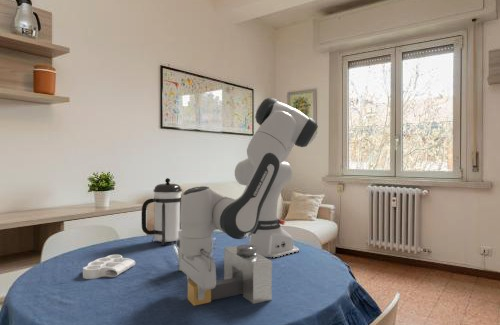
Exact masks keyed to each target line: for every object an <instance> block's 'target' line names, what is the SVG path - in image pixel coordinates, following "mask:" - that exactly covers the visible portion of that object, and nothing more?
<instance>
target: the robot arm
mask: <svg viewBox="0 0 500 325" xmlns="http://www.w3.org/2000/svg"><path fill="white" fill-rule="evenodd" d="M254 119H255V122H256V123H257V124H258V125H259V127H258V129H257V130H256V132H255V133H254V134H253V136H252V137H251V139H250V141H249V143H248V145H247V148H246V155H247V158H245V159H244V160H241V161H238V163H237V164H236V165H235V169H234V177H235V181H236V182H237V183H238V184H239V185H240V186H241V185H243V186H245V188H244V190H243V192H242V194H241V195H240V196H239V197H238V198H236V199H234V198H231V197H228V196H224V195H223V194H220V193H217V192H216V191H214V190H213V189H211V188H210V187H209V186H206V185H205V186H204V185H202V186H194V187H191V188H188V189H186V190H185V191H184V192H182V193H183V194H182V195H181V211H180V221H181V229H182V230H181V233H180V239H177V240H176V244H175V245H176V247H177V248H178V249H177V254H178V255H177V256H178V257H177V258H178V260H179V267H180V270H182V271H181V272H183V273H184V274H185V275H186V279H187V282H188V281H194V282H195V283H196V284H197V285H198V292H197V299H198V300H204V298H205V291H206V290H209V289H213V288H215V286H216V281H217V270H216V269H217V268H216V261H215V260H214V258H212V257H211V253H212V252H213V232H214V231H216V230H219V231H220V232H223V233H224V234H226V236H229V237H230V238H232V239H233V240H243V239H247V238H248V237H249V240H248V244H247V245H253V246H256V247H257V254H259V255H261V256H263V257H265V258H272V257H273V258H272V259H274V258H275V257H277V258H280V256H281V257H284V256H287V255H286V254H288V255H291V254H290V253H292V254H295V253H294V252H296V253H299V252H300V249H299V248H298V247H297V246H295V245H294V244H295V243H294V239H293V236H292V235H291V234H289V233H288V232H287V231H286V230H284V228H282V227H281V225H282V226H283V225H285V223H286V221H285V219H279V218H278V204H279V203H278V202H279V198H280V194H281V192H282V190H283V188H284V187H285V186H286V185H287V184H288V183H289V182H290V181H291V179H292V177H293V168H292V166H291V164H290V163H289V162H287V161H286V159H288V157H289V155H290V153H291V152H292V149H293V148H294V146H296V147H300V148H305V147H308V146H309V145H310V144H312V142H314V140H315V139H316V137H317V134H318V128H319V126H318V122H317V121H315V120H314V118H312V117H309V116H308V115H306V114H305V113H303V112H302V111H300V110H298V109H297V108H295V107H292V106H290V105H288V104H287V103H283V102H281V101H279V100H278V99H276V98H273V97H267V98H265V99H264V100H263V101H261V102H260V103H259V104H258V106H257V108H256V111H255V115H254ZM298 251H299V252H298ZM283 255H284V256H283Z"/></svg>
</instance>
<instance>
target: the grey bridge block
mask: <svg viewBox="0 0 500 325" xmlns="http://www.w3.org/2000/svg"><path fill="white" fill-rule="evenodd" d="M223 248H224V250H223V254H224V255H223V257H224V258H223V259H224V261H223V267H224V268H223V280H225V279H230V278H236V277H241V276H243V294H242V297H243V298H245V299H246V300H247V301H249V302H250V303H251V304H252V305H254V304H258V303H264V302H267V301H272V298H273V291H272V290H273V284H272V282H273V260H271V259H268V257H263V256H261V255H259V254H257V247H256V246H253V245H248V244H239V245H236V246H234V245H233V246H226V247H223Z"/></svg>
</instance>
